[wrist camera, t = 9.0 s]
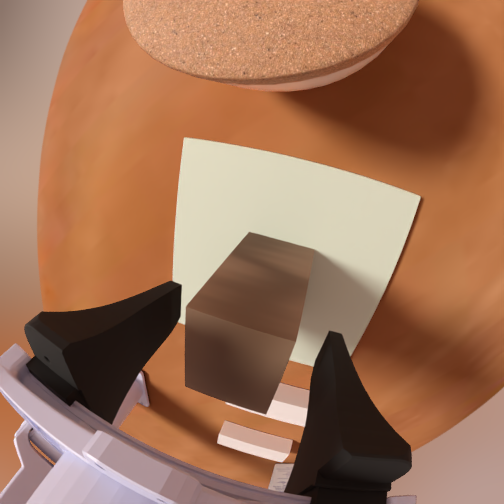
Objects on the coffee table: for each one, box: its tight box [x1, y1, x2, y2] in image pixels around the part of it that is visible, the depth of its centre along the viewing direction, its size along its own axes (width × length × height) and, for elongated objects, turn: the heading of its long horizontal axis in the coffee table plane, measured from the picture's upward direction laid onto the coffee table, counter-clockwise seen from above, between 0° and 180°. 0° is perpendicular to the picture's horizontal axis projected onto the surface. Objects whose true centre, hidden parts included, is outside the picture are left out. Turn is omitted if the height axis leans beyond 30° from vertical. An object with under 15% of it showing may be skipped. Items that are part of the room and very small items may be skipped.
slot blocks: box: [217, 383, 310, 462], centre depth 24 cm, size 8×13×2 cm, turn 170°
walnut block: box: [185, 232, 315, 414], centre depth 14 cm, size 4×5×8 cm
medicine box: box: [268, 463, 294, 492], centre depth 26 cm, size 8×4×9 cm, turn 23°
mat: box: [173, 137, 421, 367], centre depth 17 cm, size 14×14×1 cm
